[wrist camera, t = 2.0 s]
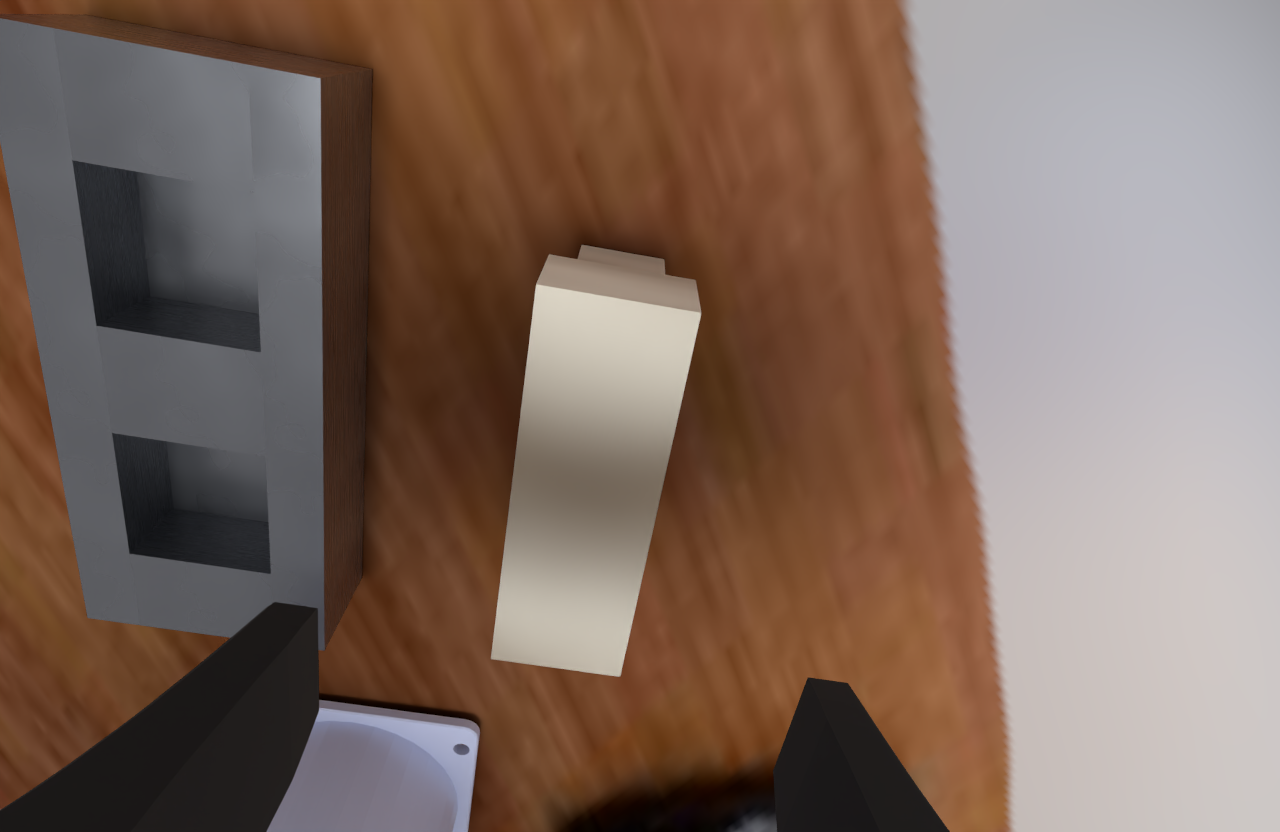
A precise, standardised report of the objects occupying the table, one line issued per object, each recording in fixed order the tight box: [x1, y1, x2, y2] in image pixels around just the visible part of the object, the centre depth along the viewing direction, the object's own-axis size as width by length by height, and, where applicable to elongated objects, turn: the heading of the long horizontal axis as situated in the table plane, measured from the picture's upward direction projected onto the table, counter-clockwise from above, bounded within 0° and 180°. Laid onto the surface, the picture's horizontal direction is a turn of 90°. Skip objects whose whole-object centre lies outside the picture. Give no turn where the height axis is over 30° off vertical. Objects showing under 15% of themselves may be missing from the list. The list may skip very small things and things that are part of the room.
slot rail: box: [0, 14, 372, 651], centre depth 19 cm, size 14×6×3 cm, turn 170°
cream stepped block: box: [491, 245, 701, 677], centre depth 18 cm, size 9×3×5 cm, turn 170°
